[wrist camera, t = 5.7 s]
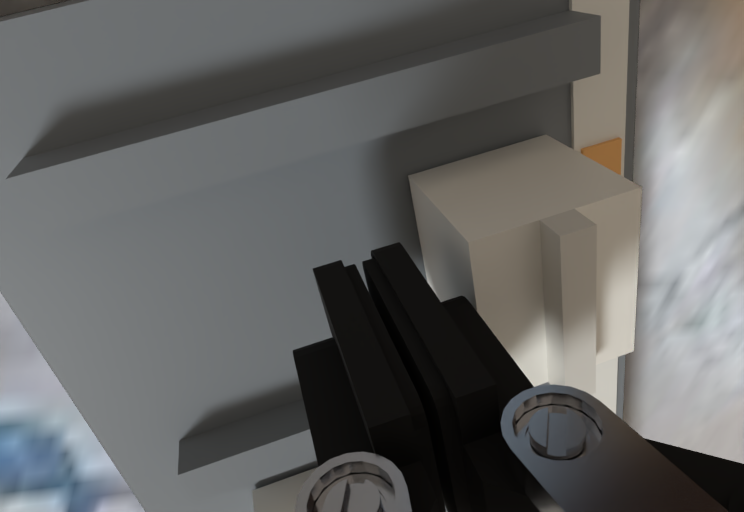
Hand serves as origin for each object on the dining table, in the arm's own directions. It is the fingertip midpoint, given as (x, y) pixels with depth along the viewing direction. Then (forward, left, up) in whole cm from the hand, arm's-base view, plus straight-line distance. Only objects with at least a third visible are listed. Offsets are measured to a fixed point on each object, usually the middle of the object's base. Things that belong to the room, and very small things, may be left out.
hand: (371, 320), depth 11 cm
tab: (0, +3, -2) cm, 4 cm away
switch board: (+7, 0, -4) cm, 8 cm away
